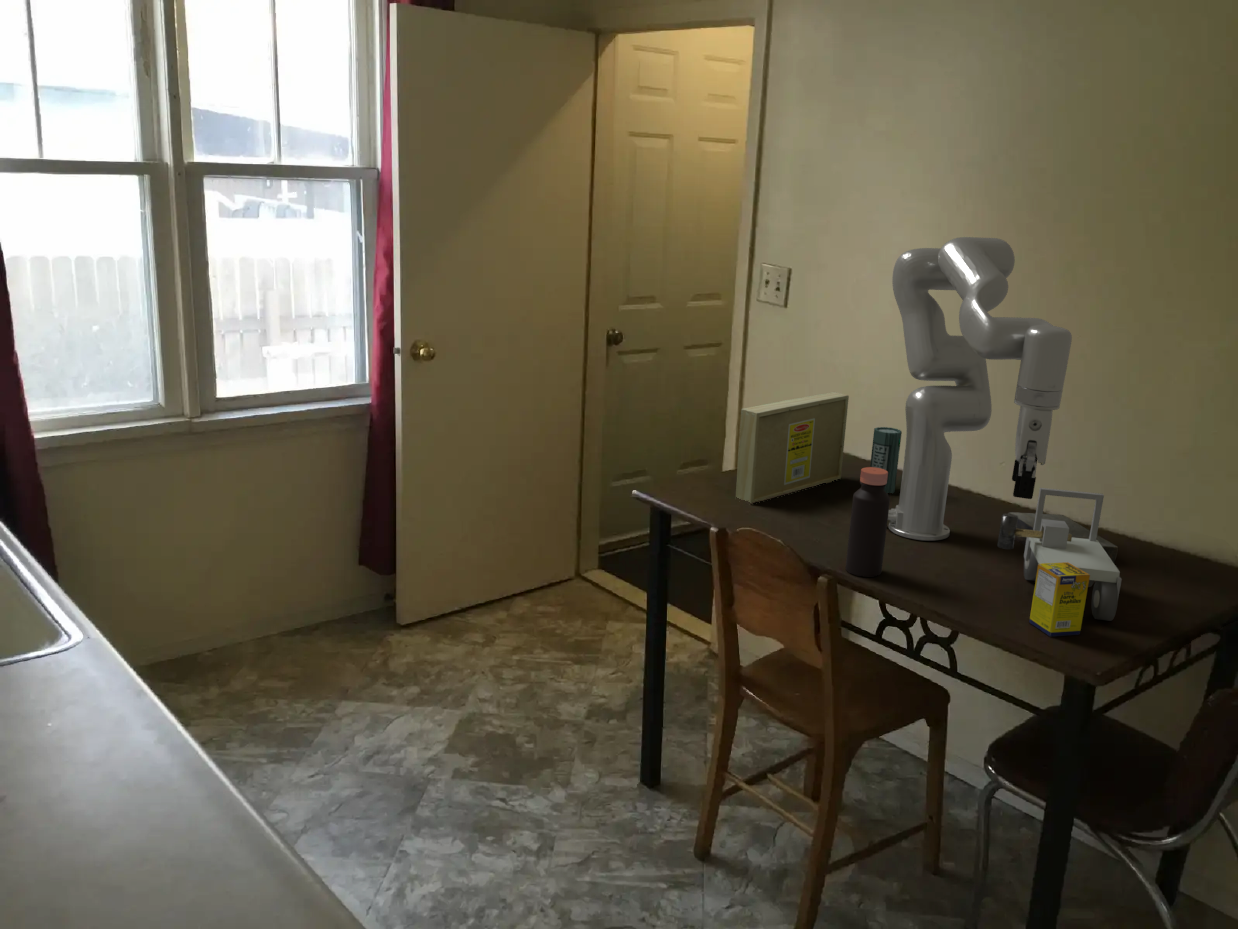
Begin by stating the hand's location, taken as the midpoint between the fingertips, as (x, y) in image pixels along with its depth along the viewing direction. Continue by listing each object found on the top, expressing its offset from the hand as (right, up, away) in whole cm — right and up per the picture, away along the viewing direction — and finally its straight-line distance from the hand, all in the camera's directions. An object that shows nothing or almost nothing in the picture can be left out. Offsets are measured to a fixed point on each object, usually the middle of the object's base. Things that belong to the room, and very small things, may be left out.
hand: (1021, 489), depth 188 cm
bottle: (-26, -16, +12) cm, 33 cm away
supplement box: (+1, -24, -11) cm, 26 cm away
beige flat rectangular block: (-32, -2, +62) cm, 69 cm away
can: (-9, -2, +64) cm, 65 cm away
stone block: (+19, -13, +30) cm, 38 cm away
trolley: (+9, -20, +3) cm, 22 cm away
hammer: (+4, -11, +5) cm, 13 cm away
